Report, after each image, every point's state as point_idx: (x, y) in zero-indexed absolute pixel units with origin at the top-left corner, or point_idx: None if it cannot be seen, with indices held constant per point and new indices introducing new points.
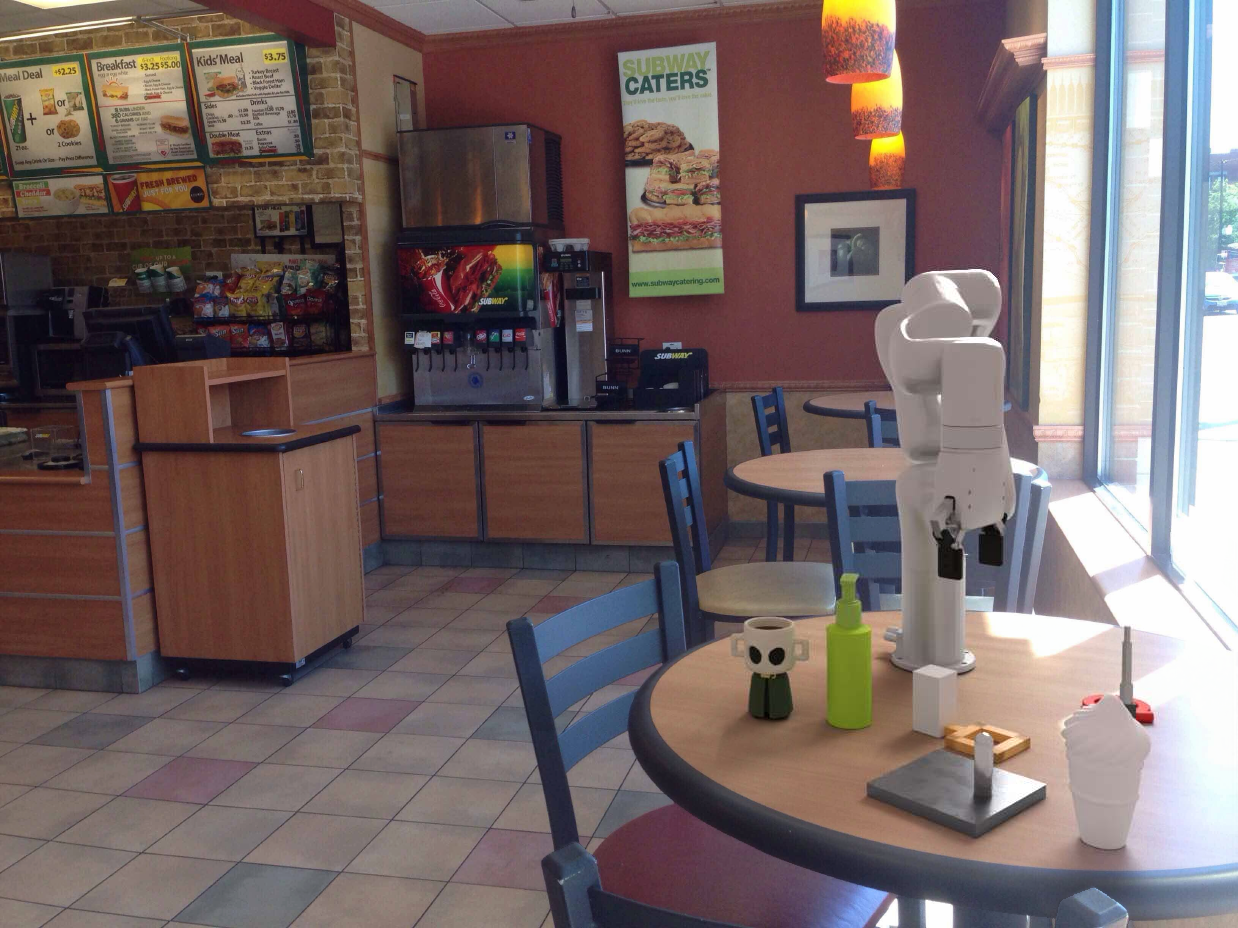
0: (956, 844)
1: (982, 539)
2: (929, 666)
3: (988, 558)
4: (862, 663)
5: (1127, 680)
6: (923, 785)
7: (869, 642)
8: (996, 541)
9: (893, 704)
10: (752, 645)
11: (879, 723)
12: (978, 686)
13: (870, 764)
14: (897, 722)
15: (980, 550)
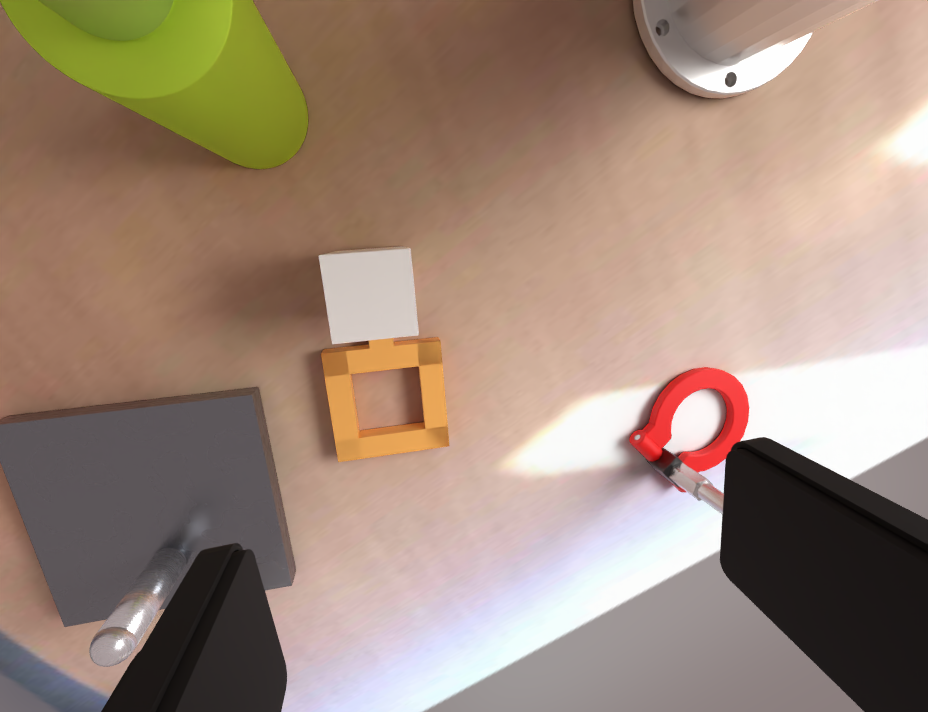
0: (34, 607)
1: (910, 591)
2: (391, 259)
3: (755, 529)
4: (178, 130)
5: (703, 500)
6: (92, 490)
7: (193, 110)
8: (884, 706)
9: (421, 114)
10: None
11: (303, 174)
12: (648, 177)
13: (119, 320)
14: (341, 199)
15: (805, 506)
